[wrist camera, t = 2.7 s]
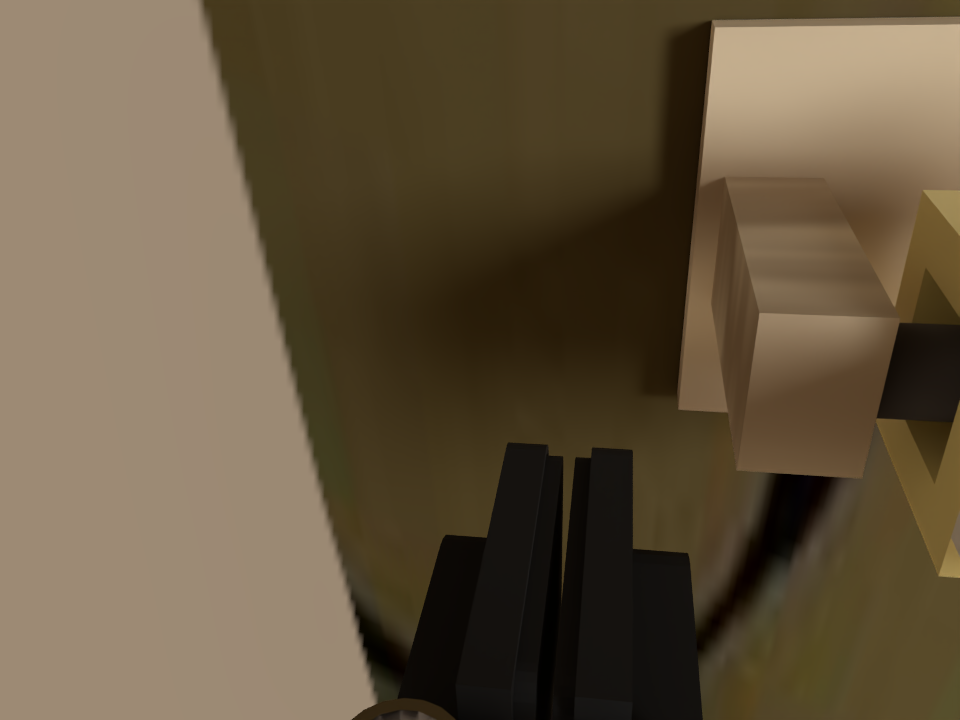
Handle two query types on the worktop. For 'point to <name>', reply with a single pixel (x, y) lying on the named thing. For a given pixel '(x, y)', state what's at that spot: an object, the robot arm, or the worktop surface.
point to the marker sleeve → (956, 446)
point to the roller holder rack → (818, 235)
